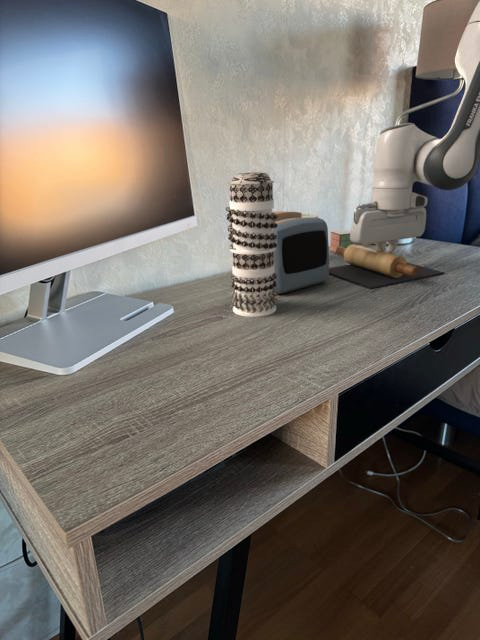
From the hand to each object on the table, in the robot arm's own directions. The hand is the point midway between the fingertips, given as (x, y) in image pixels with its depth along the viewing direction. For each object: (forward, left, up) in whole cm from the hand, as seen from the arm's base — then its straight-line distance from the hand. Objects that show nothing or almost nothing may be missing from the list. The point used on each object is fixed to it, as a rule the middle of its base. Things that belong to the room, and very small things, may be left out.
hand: (385, 259), depth 108 cm
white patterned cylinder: (+40, +8, -3) cm, 41 cm away
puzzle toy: (-5, -22, -3) cm, 23 cm away
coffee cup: (+11, -19, -3) cm, 22 cm away
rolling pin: (+4, 0, -3) cm, 5 cm away
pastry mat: (+2, +1, -3) cm, 4 cm away
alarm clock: (+26, -5, -3) cm, 27 cm away
